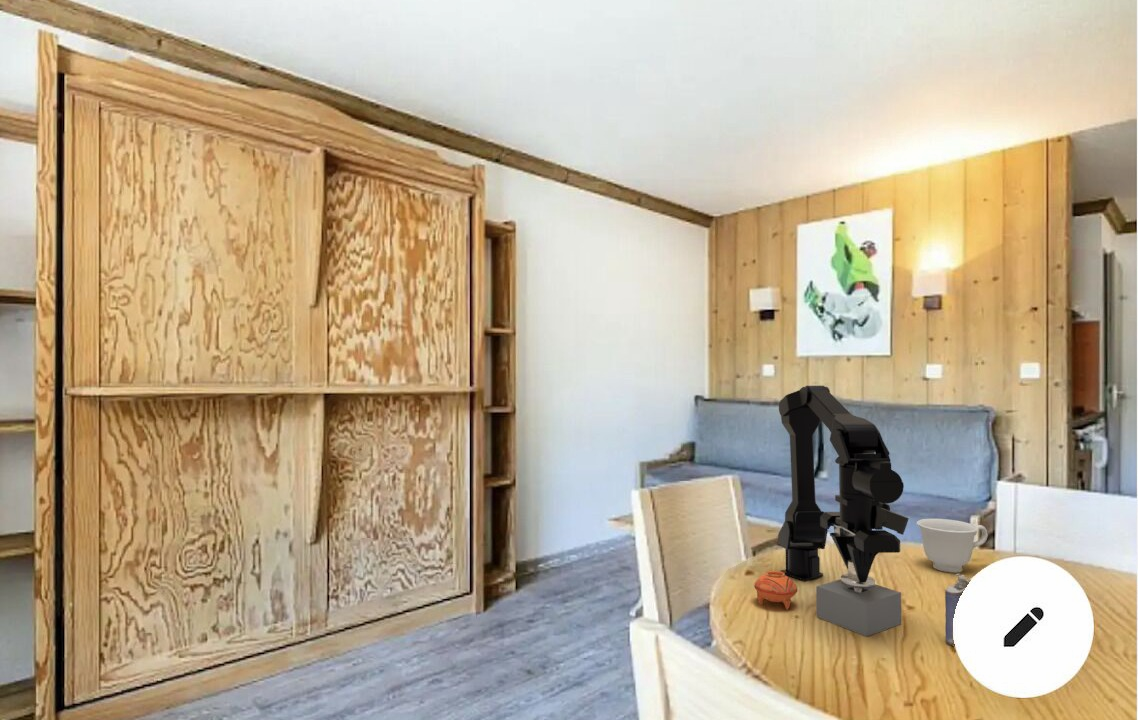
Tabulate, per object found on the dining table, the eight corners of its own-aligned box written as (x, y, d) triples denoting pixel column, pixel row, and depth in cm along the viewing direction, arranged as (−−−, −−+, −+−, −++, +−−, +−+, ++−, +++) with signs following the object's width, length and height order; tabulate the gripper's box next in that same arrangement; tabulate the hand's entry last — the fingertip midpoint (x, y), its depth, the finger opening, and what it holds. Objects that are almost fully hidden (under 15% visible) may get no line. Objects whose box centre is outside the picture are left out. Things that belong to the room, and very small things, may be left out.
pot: (763, 612, 116) (759, 573, 117) (751, 606, 123) (748, 570, 125) (806, 610, 116) (801, 572, 117) (792, 605, 123) (787, 569, 125)
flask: (957, 648, 101) (956, 582, 101) (939, 642, 103) (938, 577, 103) (987, 636, 105) (986, 572, 106) (968, 630, 108) (967, 568, 108)
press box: (816, 616, 114) (816, 586, 114) (850, 606, 119) (850, 576, 119) (866, 636, 105) (866, 603, 106) (901, 624, 111) (900, 592, 111)
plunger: (829, 616, 114) (829, 560, 114) (853, 609, 117) (852, 554, 117) (863, 629, 108) (863, 570, 108) (887, 621, 111) (886, 563, 111)
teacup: (1005, 577, 135) (1004, 531, 135) (936, 577, 135) (935, 531, 135) (970, 560, 147) (969, 518, 147) (907, 560, 147) (906, 518, 148)
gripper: (931, 502, 103) (932, 596, 103) (875, 482, 122) (876, 562, 122) (864, 502, 103) (866, 597, 103) (818, 483, 122) (819, 563, 122)
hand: (857, 578), depth 112 cm, fingers closed on plunger, 3 cm apart
